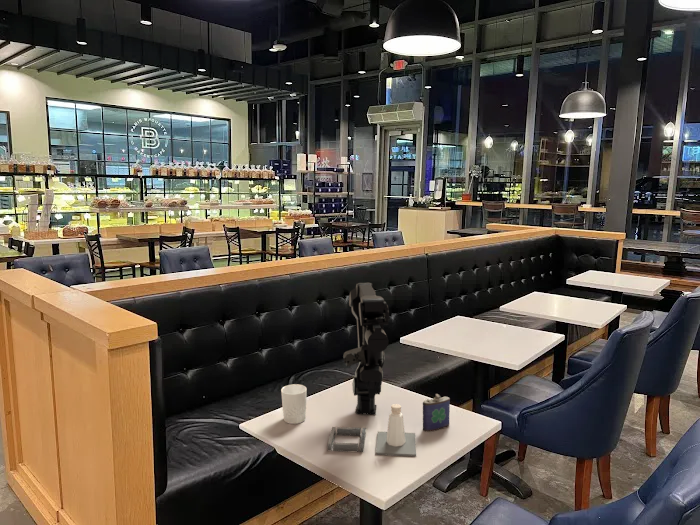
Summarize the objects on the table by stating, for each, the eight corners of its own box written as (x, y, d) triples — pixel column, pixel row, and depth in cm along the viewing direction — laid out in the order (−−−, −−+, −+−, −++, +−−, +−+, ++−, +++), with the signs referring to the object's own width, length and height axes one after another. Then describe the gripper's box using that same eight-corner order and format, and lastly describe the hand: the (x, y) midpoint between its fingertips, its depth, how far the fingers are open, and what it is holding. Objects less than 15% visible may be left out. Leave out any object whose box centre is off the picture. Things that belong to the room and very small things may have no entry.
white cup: (277, 419, 165) (276, 389, 164) (296, 411, 171) (295, 382, 169) (292, 427, 160) (291, 396, 158) (312, 419, 165) (311, 389, 163)
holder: (332, 433, 156) (332, 426, 156) (365, 434, 155) (365, 428, 155) (327, 450, 146) (327, 443, 146) (363, 452, 145) (363, 445, 145)
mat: (377, 433, 156) (377, 431, 156) (415, 434, 155) (415, 432, 154) (375, 454, 144) (375, 452, 144) (416, 456, 143) (416, 454, 143)
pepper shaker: (395, 448, 146) (396, 411, 144) (382, 441, 150) (382, 405, 148) (409, 442, 149) (409, 406, 147) (395, 435, 153) (396, 399, 151)
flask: (446, 422, 162) (447, 390, 160) (451, 426, 159) (452, 393, 158) (420, 428, 158) (421, 395, 156) (426, 433, 156) (426, 399, 154)
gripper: (348, 330, 161) (348, 378, 164) (341, 350, 143) (341, 404, 145) (384, 331, 160) (384, 379, 162) (382, 351, 142) (382, 406, 144)
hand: (372, 391), depth 154 cm, fingers open, 9 cm apart
